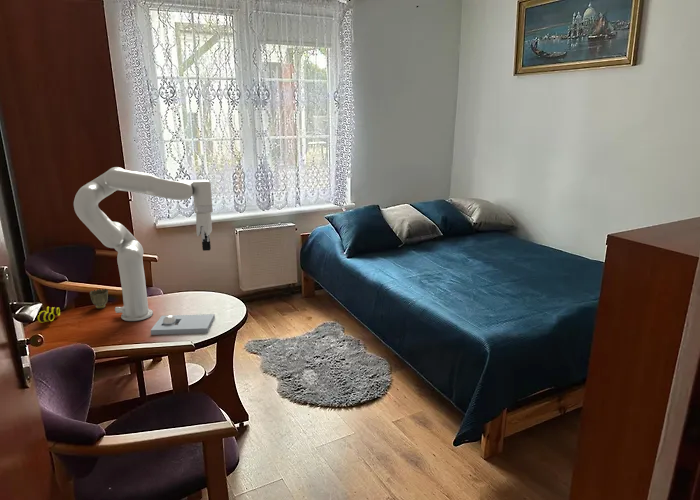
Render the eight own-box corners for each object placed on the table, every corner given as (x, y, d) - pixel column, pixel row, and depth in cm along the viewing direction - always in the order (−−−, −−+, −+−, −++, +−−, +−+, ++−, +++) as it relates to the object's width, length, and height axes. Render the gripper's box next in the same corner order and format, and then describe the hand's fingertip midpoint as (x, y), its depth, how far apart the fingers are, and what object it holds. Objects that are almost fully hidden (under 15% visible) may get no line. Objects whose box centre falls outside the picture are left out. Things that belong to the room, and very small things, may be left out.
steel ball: (164, 315, 198) (176, 320, 198) (167, 311, 202) (179, 316, 203) (159, 326, 198) (171, 331, 199) (162, 322, 203) (174, 327, 204)
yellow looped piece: (51, 324, 205) (49, 312, 204) (38, 324, 205) (36, 313, 203) (62, 315, 214) (60, 304, 213) (49, 315, 214) (47, 305, 213)
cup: (92, 306, 224) (90, 289, 222) (110, 303, 227) (108, 287, 225) (91, 311, 218) (88, 294, 216) (109, 309, 221) (107, 292, 219)
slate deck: (151, 334, 194) (150, 330, 194) (162, 320, 209) (161, 315, 208) (207, 332, 196) (207, 328, 195) (214, 318, 210) (214, 314, 210)
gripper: (198, 206, 218) (201, 246, 222) (190, 212, 203) (194, 254, 208) (215, 205, 218) (218, 245, 223) (208, 211, 204) (212, 254, 209)
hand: (206, 249), depth 215 cm, fingers closed
